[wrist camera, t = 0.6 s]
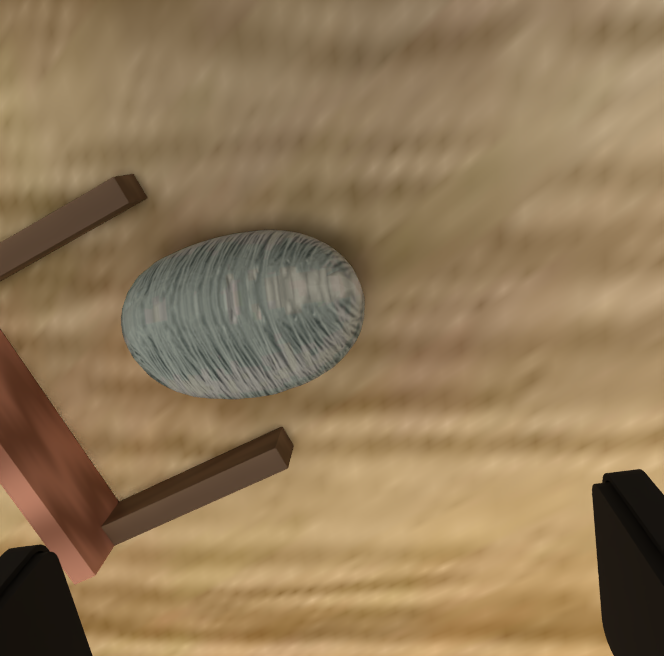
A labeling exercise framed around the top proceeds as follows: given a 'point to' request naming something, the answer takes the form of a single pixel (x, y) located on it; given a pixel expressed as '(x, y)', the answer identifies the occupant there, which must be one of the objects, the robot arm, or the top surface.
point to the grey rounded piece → (243, 314)
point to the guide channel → (65, 452)
